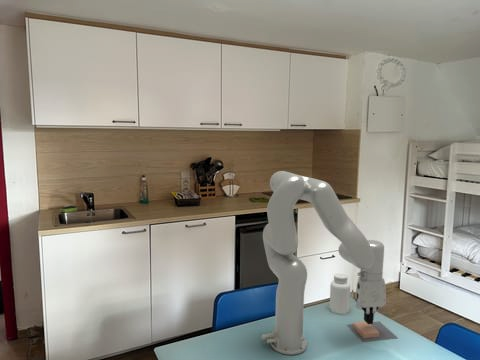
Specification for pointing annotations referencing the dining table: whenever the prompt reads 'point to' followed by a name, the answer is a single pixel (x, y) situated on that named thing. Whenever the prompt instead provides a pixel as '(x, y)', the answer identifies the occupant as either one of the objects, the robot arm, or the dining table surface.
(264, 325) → the dining table surface
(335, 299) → the pill bottle
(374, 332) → the tile
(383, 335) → the mat
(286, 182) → the robot arm
